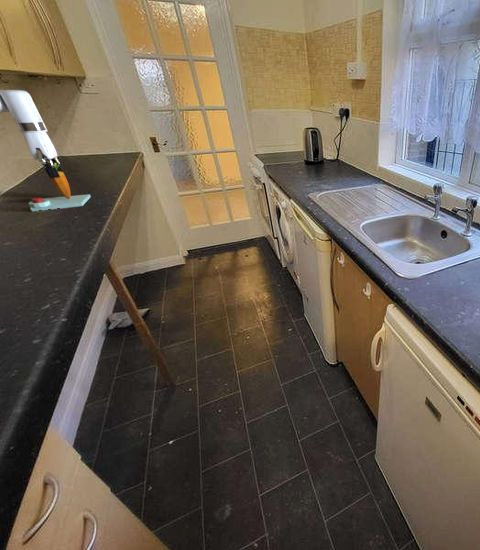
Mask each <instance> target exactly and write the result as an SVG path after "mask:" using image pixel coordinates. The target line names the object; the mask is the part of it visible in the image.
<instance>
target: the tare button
mask: <svg viewBox="0 0 480 550" xmlns="http://www.w3.org/2000/svg"><path fill="white" fill-rule="evenodd" d="M43 199H44V198H42V197H35V198H32V199H31V201H33V203H40V202H44V201H43Z"/></svg>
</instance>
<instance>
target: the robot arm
mask: <svg viewBox="0 0 480 550" xmlns="http://www.w3.org/2000/svg"><path fill="white" fill-rule="evenodd" d="M2 113H10V115H11V117H12V118H13V121H14V122H15V124H16V126H17V128H18V130H19V132H20V133H22V135H23V138H24V141H25V143H26V145H27V147H28V150H29V151H30V153H31V155H32V158H33V159H34V161H39V163H41V165H42V167H43V168H44V170H45V172H46V173H47V176H48V177H49V179H50V178H59V177H60V175H59V173H58V171H60V172H63V173H64V175H65V174H66V173H65V171H64V169H63V167H62V165H61V163H60V161H59V160H58V151H57V150H56V148H55V146H54V143H53V142H52V140H51V138H50V137H49V134H48V133H47V132H49V131H48V129H47V126H46V125H45V122H44V121H43V118H42V116H41V115H40V113H39V110H38V108H37V106H36V104H35V102H34V100H33V98H32V96H31V94H30V93H29V92H28V91H26V90H22V89H0V114H2ZM54 163H57V165H59V167H58V168H57V169H56V167H54ZM57 165H56V166H57Z"/></svg>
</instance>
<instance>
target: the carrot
mask: <svg viewBox="0 0 480 550" xmlns="http://www.w3.org/2000/svg"><path fill="white" fill-rule="evenodd" d="M56 165H57V163H54V167H56V169H57V168H58V167H59V164H58V165H57V166H56ZM58 173H59V175H60V177H59V178H50V177H49V179H50V181H51V182H52V184H53V185H54V187H55V188H56V190H57V191H58V192H59V193H60V194H61V195H62V197H66V198H68V199H70V196H72V194H71V188H70V185H69V182H68V180H67V176H66V175H65V174H64V173H65V172H64V173H63V172H60V171H58Z"/></svg>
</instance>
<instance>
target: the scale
mask: <svg viewBox="0 0 480 550" xmlns="http://www.w3.org/2000/svg"><path fill="white" fill-rule="evenodd" d="M91 197H92V196H91V194H79V195H70V199H68V198H66V197H65V196H55V197H45V198H42V199H43V201H44V202H40V203H33V201H32V200H31V201H29V202H27V204H28V206H29V207H30V208H29V209H30V211H31V212H40V211H39V210H42V211H49V210H48V209H51V210H57V208H60V209H69V208H77V207H83V206H84V205H85V204H86V203H87V202H88V201H89V199H91Z"/></svg>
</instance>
